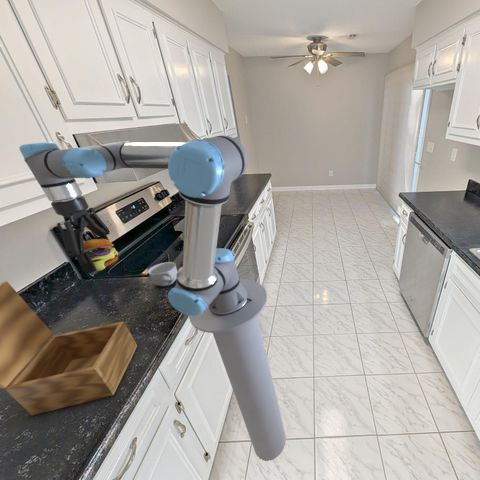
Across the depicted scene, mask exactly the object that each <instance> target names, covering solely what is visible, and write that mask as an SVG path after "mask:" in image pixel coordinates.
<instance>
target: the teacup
mask: <svg viewBox="0 0 480 480" xmlns="http://www.w3.org/2000/svg"><path fill="white" fill-rule="evenodd" d="M177 272H178V269H177V264H176V263H175V262H173V261H166V262H165V261H164V262H161V263H158V264H155V265H153V266H151V267H150V268H149V269H148V270H147V274H148V275H149V278H150V280H151V282H152V284H153V285H155V286H158V287H166V286H167V287H168V286H170V285H172V284H174V282H175V281H176V279H177Z"/></svg>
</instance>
